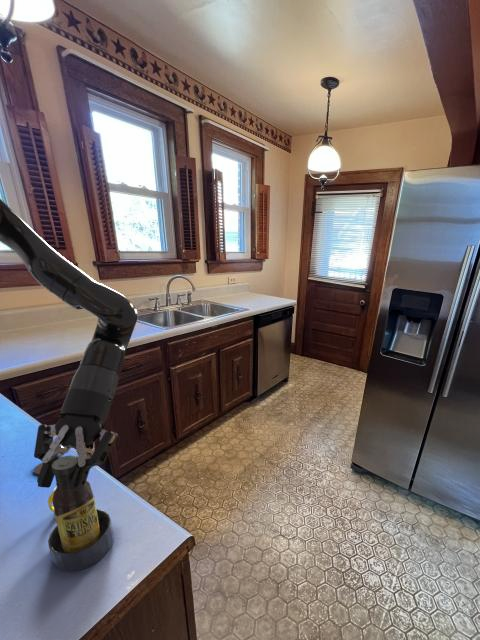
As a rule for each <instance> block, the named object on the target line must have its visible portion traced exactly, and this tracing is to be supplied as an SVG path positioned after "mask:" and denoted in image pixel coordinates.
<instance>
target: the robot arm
mask: <svg viewBox="0 0 480 640" xmlns="http://www.w3.org/2000/svg"><path fill="white" fill-rule="evenodd" d="M0 243H2V244H4V245H5V246H6V247H8V248H9V249H11V250H12V251H13V252H14V253H15V254H16V255H17V256H18V257H19V258H20V260H21V261H22V262H23V264H24V266H25V267H26V269H27V270H28V272H29V273H30V275H31V276H32V277H33V279H34V280H35V281H36V282H37V283H38V284H39V285H40V286H41V287H42V288H44V289H45V290H46V291H48V292H49V293H50V294H52V295H54V296H55V297H56V298H57V299H59V300H61V301H62V302H63V303H64V304H66V305H68V306H69V307H70V308H73V309H75V310H79V311H82V310H86V311H87V312H89V313H91V314H92V315H93V316H95V317H96V318H97V322H96V326H95V328H94V329H95V330H94V333H93V336H92V339H91V341H90V342H89V343H88V344H87V346H86V348H85V350H84V351H83V355H82V358H81V360H80V363H79V366H78V368H77V369H76V371H75V373H74V375H73V377H72V380H71V381H70V382H71V383H70V385H69V388H68V391H67V393H66V396H65V398H64V401H63V404H62V406H61V409H60V415H61V416H60V417H59V419H58V420H57V422H56V423H55V424H49V425H48V424H44V423H42V424H40V425H38V427H37V432H36V438H35V439H36V440H35V446H34V451H33V452H34V453H33V458H35V459H38V460H40V461H41V463H43V465H42V468H41V471H40V474H39V475H37V478H36V482H37V488H50V487H51V486H52V483H53V481H54V478H55V475H54V474H53V473H52V464H53V462H54V461H56V460H57V459H59V458H61V457H64V455H65V454H67V453H68V452H69V451H70V450H71V449H74V448H75V452H76V454H77V457H78V465H79V467H76V468H75V471H74V474H73V477H72V480H71V483H70V486H69V490H71V491H80V490H81V488H83V487H84V485H85V483H86V481H88V480H87V479H88V476H89V473H90V470H91V469H92V468H93V467H98V466H103V465H104V464H105V463H106V460H107V458H108V456H109V454H111V453H110V452H111V451H112V449H113V447H114V445H115V443H116V442H117V440H118V438H119V434H118V433H116V432H115V431H111V430H106V428H105V422H106V421H107V420H108V417H109V415H110V411H111V407H112V405H113V402H114V398H115V396H116V392H117V388H118V384H119V378H120V375H121V372H122V368H123V365H124V361H125V357H126V351H127V349H128V347H129V343H130V341H131V339H132V335H133V333H134V330H135V327H136V324H137V321H138V318H139V312H138V310H137V308H136V305H134V304H133V302H132V301H131V300H130V299H129V298H127V297H126V296H125V295H124V294H121V293H120V292H118V291H116V290H114V289H113V288H111V287H108V286H106V285H104V284H103V283H99V282H97V281H96V280H94V279H93V278H92V277H90V276H89V275H88V274H86V273H85V272H84V271H83V270H81V269H80V268H78V267H77V266H76V265H74V264H73V263H72V262H70V261H69V260H67V259H66V258H65V257H64V256H62V255H61V254H60V253H59V252H57V251H56V250H55V249H54V248H53V247H52V246H51V245H49V244H48V243H47V242H46V241H45V240H44V239H43V238H42V237H41V236H39V235H38V233H36V231H34V230H33V229H32V228H31V227H30V226H29V225H28V224H27V222H25V221H24V220H23V219H22V218H21V217H20V216H19V215H18V214H17V213H16V212H15V211H13V210H12V208H10V206H8V204H7V203H6V202H4V200H2V199H1V198H0ZM98 439H99V442H98V443H97V446H96V445H95V444H96V443H95V442H96V441H97V440H98Z"/></svg>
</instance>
